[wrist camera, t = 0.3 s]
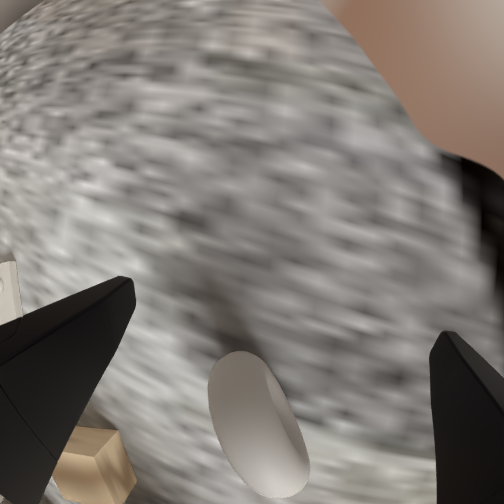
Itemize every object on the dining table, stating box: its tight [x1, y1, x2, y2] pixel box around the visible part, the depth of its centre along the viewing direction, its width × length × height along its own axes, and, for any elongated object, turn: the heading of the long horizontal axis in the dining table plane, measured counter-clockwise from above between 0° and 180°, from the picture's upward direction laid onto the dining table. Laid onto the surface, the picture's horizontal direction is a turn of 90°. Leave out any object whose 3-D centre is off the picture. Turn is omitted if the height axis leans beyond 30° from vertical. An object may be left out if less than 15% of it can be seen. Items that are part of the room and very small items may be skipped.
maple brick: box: [52, 426, 137, 504], centre depth 21 cm, size 6×6×5 cm
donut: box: [208, 351, 310, 498], centre depth 18 cm, size 10×4×10 cm, turn 25°
